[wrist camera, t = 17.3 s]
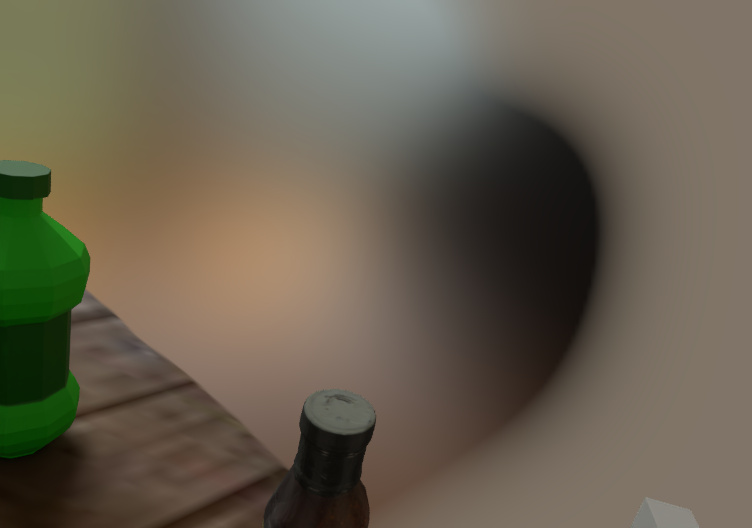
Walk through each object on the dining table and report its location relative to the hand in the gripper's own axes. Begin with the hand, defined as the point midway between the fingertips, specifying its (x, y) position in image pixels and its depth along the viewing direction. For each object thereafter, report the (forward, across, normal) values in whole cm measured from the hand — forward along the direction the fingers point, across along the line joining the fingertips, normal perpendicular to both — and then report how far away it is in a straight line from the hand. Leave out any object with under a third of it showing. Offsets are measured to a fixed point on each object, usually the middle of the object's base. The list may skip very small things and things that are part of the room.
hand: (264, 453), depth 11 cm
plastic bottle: (+31, -29, -32) cm, 53 cm away
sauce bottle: (+18, 0, -31) cm, 36 cm away
